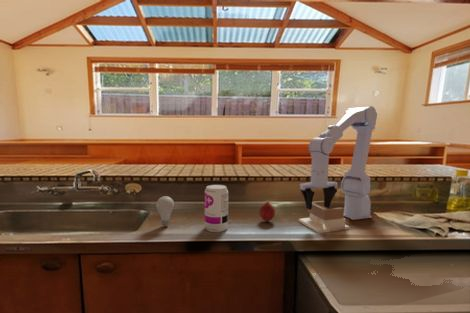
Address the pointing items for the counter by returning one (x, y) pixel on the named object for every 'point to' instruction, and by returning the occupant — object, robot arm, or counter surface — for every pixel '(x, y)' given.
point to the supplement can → (216, 208)
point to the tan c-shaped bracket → (326, 211)
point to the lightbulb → (165, 209)
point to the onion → (267, 211)
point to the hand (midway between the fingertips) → (317, 207)
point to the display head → (324, 224)
